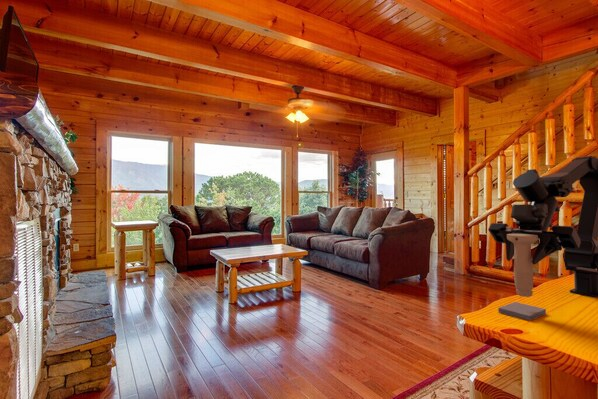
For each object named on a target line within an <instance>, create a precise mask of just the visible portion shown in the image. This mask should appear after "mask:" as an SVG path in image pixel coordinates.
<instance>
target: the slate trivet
mask: <svg viewBox="0 0 598 399" xmlns="http://www.w3.org/2000/svg"><path fill="white" fill-rule="evenodd" d="M546 310H547V309H546V308H544V307H543V308H542V307H538V306H534V305H530V304H525V303H521V302H517V301H514V302H510V303H508V304H506V305H502V306H499V307H498V310H497V311H498V313H499V314H502V315H506V316H510V317H514V318H518V319H521V320H525V321H527V322H528V321H529V322H530V321H532V320H535V319H537V318H540V317H542V316H545V315H546V314H547V311H546Z"/></svg>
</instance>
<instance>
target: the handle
mask: <svg viewBox="0 0 598 399" xmlns="http://www.w3.org/2000/svg"><path fill="white" fill-rule="evenodd" d="M507 239H508V240H509V241H511V242H512V243H514V256H513V279H514V286H515V288H516V289H515V293H516V295H517V296H519V297H525V298H530V297H532V296H533V292H534V291H533V289H534V270H533V269H534V266H533V263H532V259H533V257H532V250H531V249H532V248H531V247H532V244H534V243H536V242H537V241H538V240H539V239H538V235H532V234H507ZM538 242H539V241H538Z"/></svg>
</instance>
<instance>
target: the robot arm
mask: <svg viewBox="0 0 598 399" xmlns="http://www.w3.org/2000/svg"><path fill="white" fill-rule="evenodd" d="M578 180H579V182H578V183H579V185H580V186H581V188H582V189H583V191H584V192H583V198H582V202H581V209H580V212H579V213H580V214H579V219H578V224H577V227H576V228H577V229H576V228H575V227H574V226H572V225H553V222H552V220H553V218H554V215H555V212H557V213H559V212H561V211H560V206H559V205H558V204H559V202H558V200H557V199H556V198H566V197H568V196H569V195H570V194H571V193H572V191H573V190H574V187H573V184H574V183H576V182H577V181H578ZM512 185H513V186H514V187H515V189H516V190H517V192H518V194H519V195H520V196H521V198H522V200H523V201H525V202H528V204H513V205H512V207H511V213H510V218H511V219H514V220H515V222H514V224H515V225H516V227H519V228H513V227H511V226H509V224H508V223H504V222H503V223H501V222H500V223H499V222H492V223H491V224H490V225H489V227H488V232H489V234H490V235H491V236H492V238H493V240H494V242H496V243H498V244H505V255H506V257H505V258H506V260H507V261H508V262H510V261H511V260H512V259H513V258H514V243H512V242H511V241H509V240H508V239H507V234H532V235H538V240H539V241H538V244H537V247H536V249H535V251H534V253H533V255H532V265H537V264H538V263H539V262H540V261H543V260H544V259H545V258H546V257H548V256H550V255H551V254H554V253H556V252H557V251H562V250H563V249H564V250H563V254H562V259H563V263H564V264H563V265H564V268H565V270H566V271H571V272H572V271H573V273H574V274H573V277H574V279H573V280H574V288H571V289H569V292H570V293H573V294H575V293H576V294H580V295H585V296H591V297H595V298H596V297H597V298H598V158H597V157H596V156H593V155H588V156H587V155H586V156H580V157H579V156H577V157H575V158H573V159H572V160H571V162H569V163H567V164H566V165H565V166H564V167H562V168H560V169H559V170H558V171H556V172H554V173H551V174H547V175H542V176H540V175H539V173H538V171H537V169H536V168H535V169H532V168H531V169H527V170H526V172H524V173H522V174H520V175H518V176H516V177H515V178H514V179H513V181H512ZM549 228H551V231H550V230H549ZM548 230H549V231H548Z"/></svg>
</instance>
